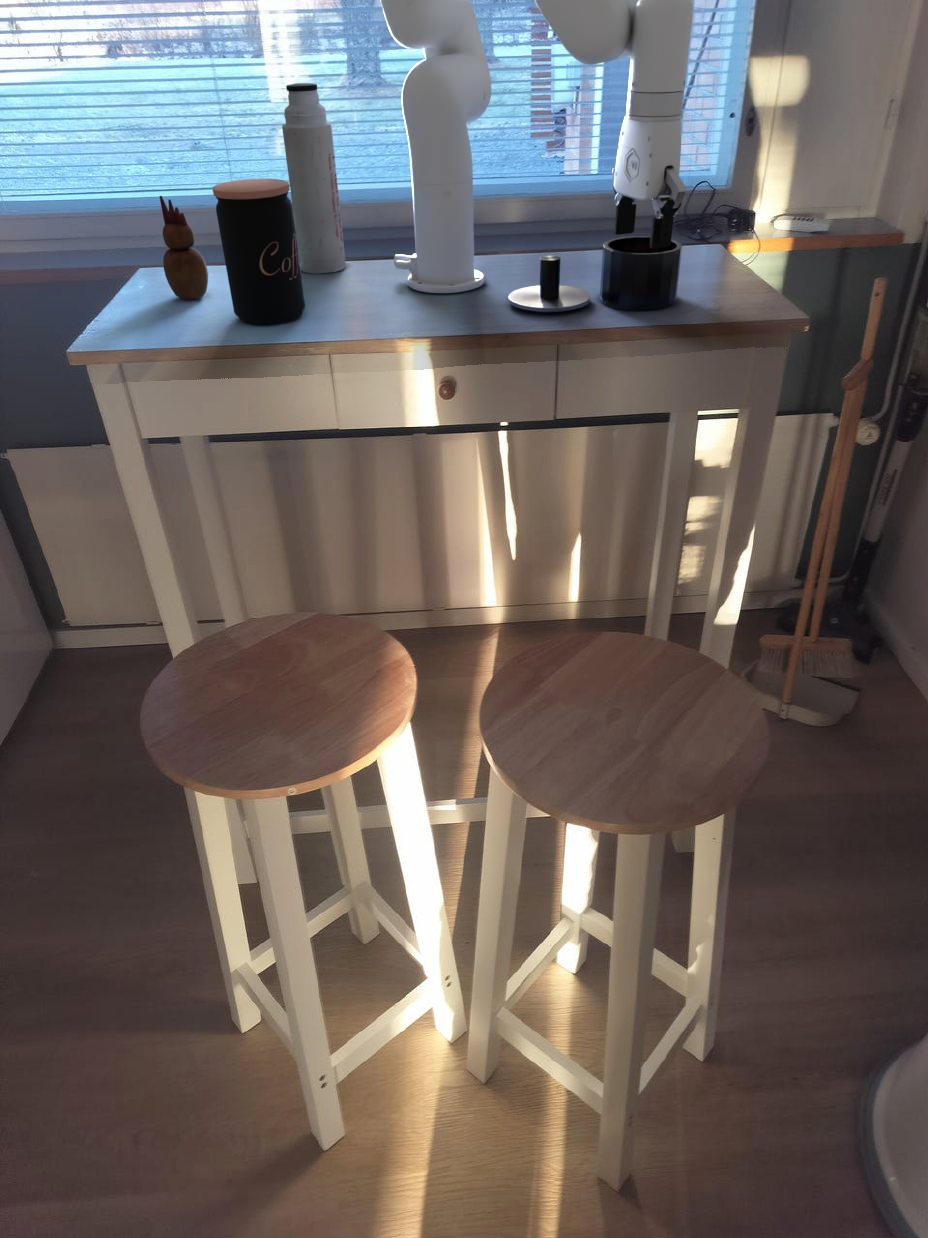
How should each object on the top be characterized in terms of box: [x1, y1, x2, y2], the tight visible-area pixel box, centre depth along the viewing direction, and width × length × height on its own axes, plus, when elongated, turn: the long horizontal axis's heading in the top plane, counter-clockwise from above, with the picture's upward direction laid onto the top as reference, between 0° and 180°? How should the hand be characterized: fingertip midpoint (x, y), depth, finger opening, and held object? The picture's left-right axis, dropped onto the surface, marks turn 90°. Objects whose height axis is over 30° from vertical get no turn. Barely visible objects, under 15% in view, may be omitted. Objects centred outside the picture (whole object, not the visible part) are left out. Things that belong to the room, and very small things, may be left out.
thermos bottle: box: [281, 82, 347, 274], centre depth 146 cm, size 8×8×28 cm
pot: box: [599, 235, 683, 312], centre depth 131 cm, size 11×12×8 cm
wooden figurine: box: [159, 195, 209, 301], centre depth 137 cm, size 7×6×15 cm
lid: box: [508, 255, 591, 313], centre depth 131 cm, size 12×12×7 cm
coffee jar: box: [212, 178, 306, 326], centre depth 126 cm, size 11×11×18 cm
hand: (641, 239), depth 128 cm, fingers open, 9 cm apart
